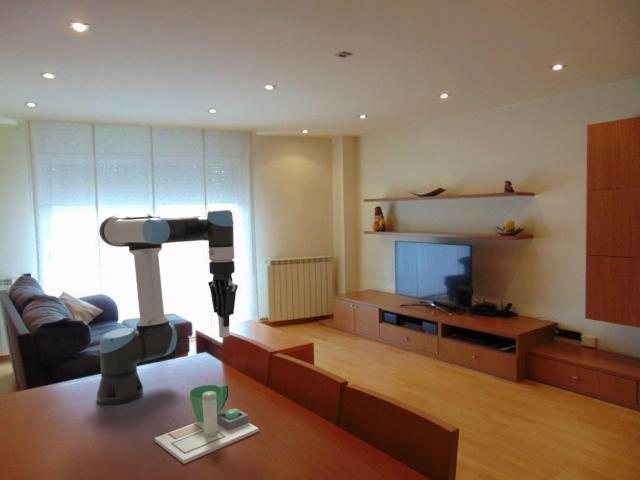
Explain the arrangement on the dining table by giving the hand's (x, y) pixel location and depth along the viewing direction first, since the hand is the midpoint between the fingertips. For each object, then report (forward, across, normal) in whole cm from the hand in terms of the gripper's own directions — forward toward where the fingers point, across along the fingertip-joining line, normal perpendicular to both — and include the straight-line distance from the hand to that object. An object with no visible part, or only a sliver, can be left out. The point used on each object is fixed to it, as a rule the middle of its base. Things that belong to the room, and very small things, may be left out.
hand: (224, 336), depth 143 cm
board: (+26, +5, -10) cm, 29 cm away
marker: (+25, +7, -10) cm, 28 cm away
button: (+25, +5, -1) cm, 25 cm away
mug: (+27, -5, -3) cm, 28 cm away
